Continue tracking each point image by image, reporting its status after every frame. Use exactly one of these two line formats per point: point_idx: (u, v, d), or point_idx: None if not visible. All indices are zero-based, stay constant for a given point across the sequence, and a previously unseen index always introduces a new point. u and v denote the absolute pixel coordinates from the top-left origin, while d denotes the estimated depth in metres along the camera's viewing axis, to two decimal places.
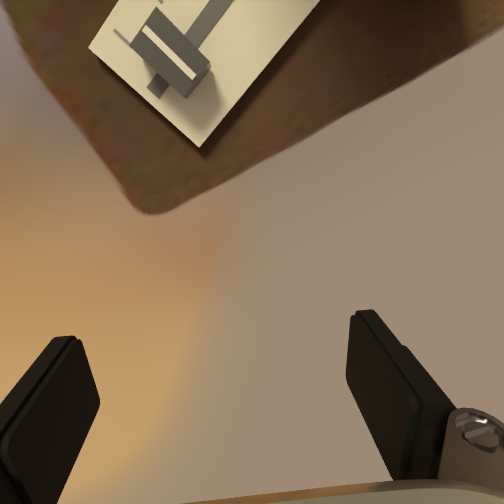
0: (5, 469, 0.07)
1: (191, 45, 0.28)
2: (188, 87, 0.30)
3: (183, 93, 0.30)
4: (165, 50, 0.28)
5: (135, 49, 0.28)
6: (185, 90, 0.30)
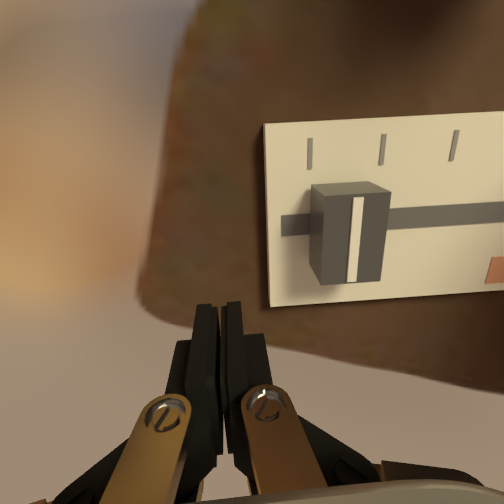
0: (208, 402, 0.08)
1: (381, 253, 0.20)
2: (335, 282, 0.21)
3: (324, 283, 0.21)
4: (354, 236, 0.19)
5: (326, 205, 0.19)
6: (329, 282, 0.21)
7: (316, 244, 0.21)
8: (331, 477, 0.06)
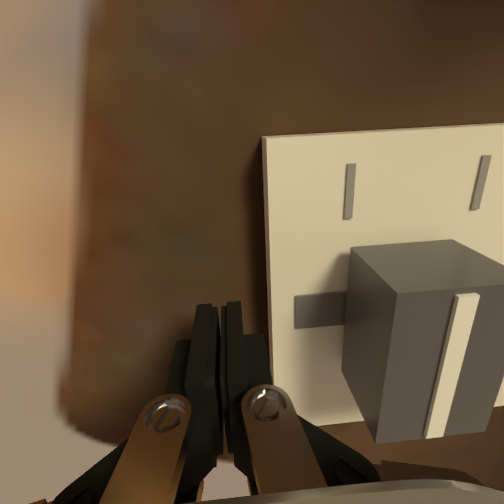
0: (208, 402, 0.08)
1: (495, 388, 0.10)
2: (402, 437, 0.11)
3: (383, 440, 0.11)
4: (451, 365, 0.10)
5: (400, 310, 0.09)
6: (392, 438, 0.11)
7: (363, 361, 0.11)
8: (331, 477, 0.06)
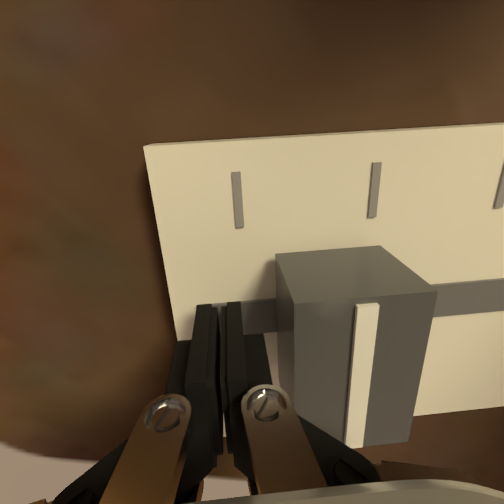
0: (208, 402, 0.08)
1: (411, 399, 0.10)
2: None
3: None
4: (359, 376, 0.09)
5: (299, 321, 0.09)
6: None
7: (286, 369, 0.11)
8: (331, 477, 0.06)
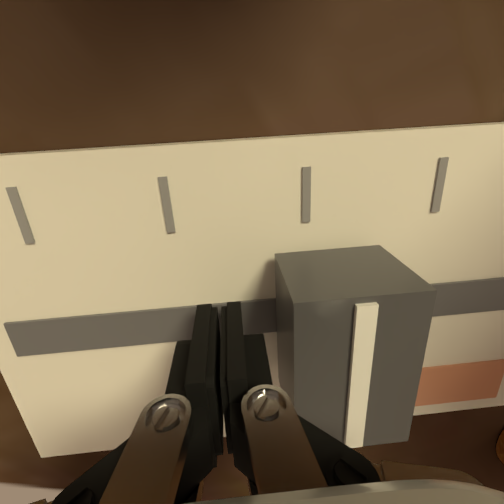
0: (208, 402, 0.08)
1: (411, 398, 0.10)
2: None
3: None
4: (359, 375, 0.09)
5: (299, 321, 0.09)
6: None
7: (285, 369, 0.11)
8: (331, 477, 0.06)
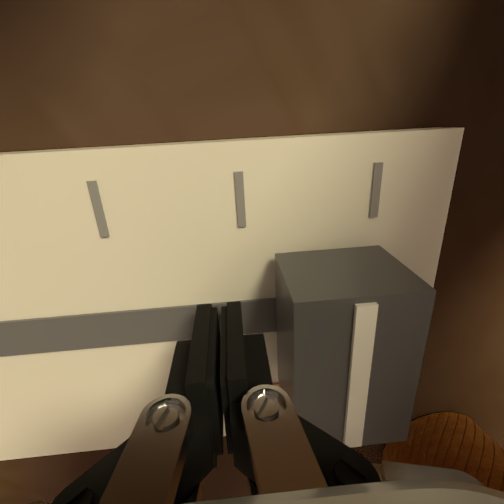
0: (208, 402, 0.08)
1: (410, 398, 0.10)
2: None
3: None
4: (358, 375, 0.09)
5: (299, 320, 0.09)
6: None
7: (285, 369, 0.11)
8: (331, 477, 0.06)
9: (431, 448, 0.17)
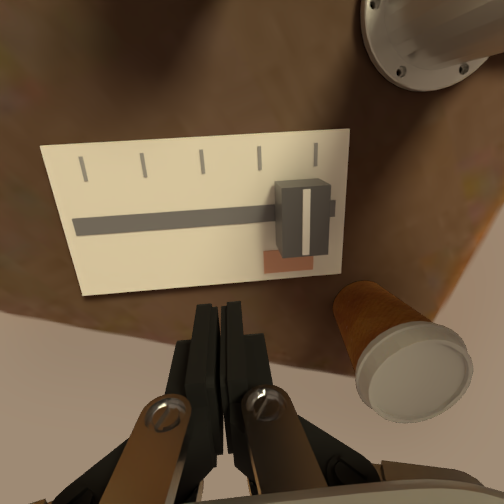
0: (208, 402, 0.08)
1: (327, 232, 0.26)
2: (293, 256, 0.27)
3: (285, 256, 0.27)
4: (305, 219, 0.26)
5: (283, 195, 0.25)
6: (289, 256, 0.27)
7: (279, 227, 0.27)
8: (331, 477, 0.06)
9: (353, 292, 0.33)
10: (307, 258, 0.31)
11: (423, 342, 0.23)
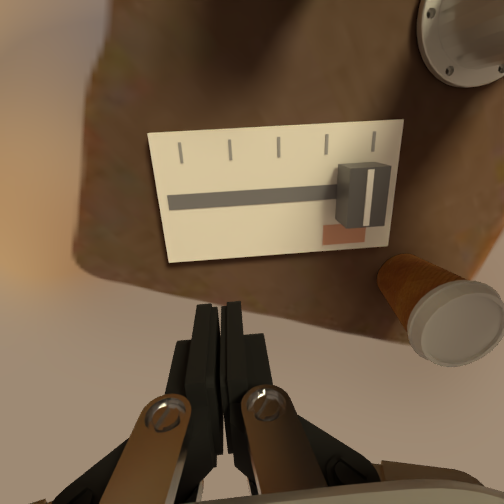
0: (208, 402, 0.08)
1: (385, 206, 0.31)
2: (355, 227, 0.32)
3: (348, 227, 0.32)
4: (368, 195, 0.31)
5: (351, 174, 0.30)
6: (352, 226, 0.32)
7: (342, 202, 0.32)
8: (331, 477, 0.06)
9: (398, 262, 0.38)
10: (360, 232, 0.36)
11: (469, 295, 0.28)
